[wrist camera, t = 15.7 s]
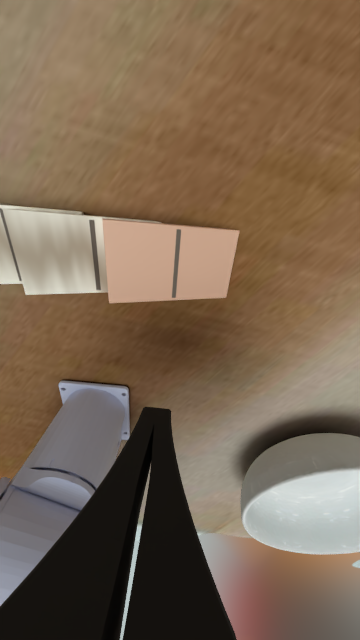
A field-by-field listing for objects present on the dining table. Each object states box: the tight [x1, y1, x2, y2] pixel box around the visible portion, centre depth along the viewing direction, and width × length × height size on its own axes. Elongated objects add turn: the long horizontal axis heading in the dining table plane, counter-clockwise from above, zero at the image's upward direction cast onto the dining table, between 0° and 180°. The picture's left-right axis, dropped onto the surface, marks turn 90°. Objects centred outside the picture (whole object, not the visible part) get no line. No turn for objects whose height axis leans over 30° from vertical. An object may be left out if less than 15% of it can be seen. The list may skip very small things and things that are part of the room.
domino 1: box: [0, 204, 84, 284], centre depth 14 cm, size 5×2×9 cm
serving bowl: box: [241, 433, 360, 554], centre depth 26 cm, size 21×21×7 cm
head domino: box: [102, 218, 239, 303], centre depth 15 cm, size 5×2×9 cm
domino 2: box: [2, 209, 161, 295], centre depth 15 cm, size 5×2×9 cm
